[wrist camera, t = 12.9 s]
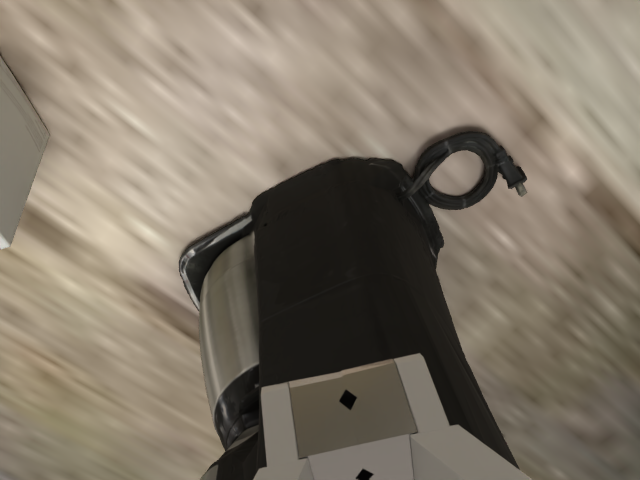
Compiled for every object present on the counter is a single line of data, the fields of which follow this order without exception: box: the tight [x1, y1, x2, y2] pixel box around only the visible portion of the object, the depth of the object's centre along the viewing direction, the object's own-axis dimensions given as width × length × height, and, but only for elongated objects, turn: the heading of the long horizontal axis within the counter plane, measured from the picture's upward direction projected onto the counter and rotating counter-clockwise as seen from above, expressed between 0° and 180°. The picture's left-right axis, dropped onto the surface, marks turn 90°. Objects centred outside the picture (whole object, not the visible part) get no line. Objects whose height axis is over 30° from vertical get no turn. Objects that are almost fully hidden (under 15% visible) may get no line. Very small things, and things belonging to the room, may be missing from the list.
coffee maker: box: [179, 131, 527, 480], centre depth 45 cm, size 23×32×34 cm
